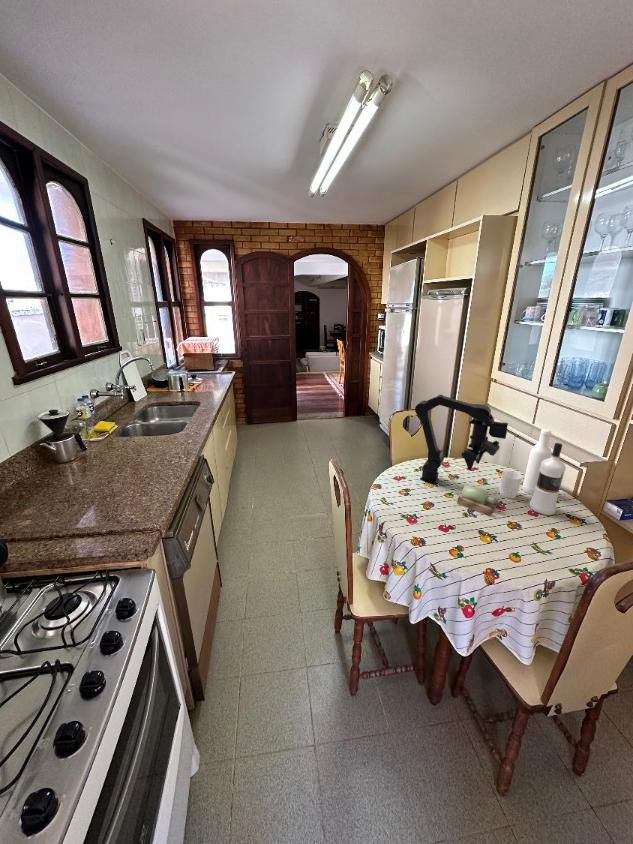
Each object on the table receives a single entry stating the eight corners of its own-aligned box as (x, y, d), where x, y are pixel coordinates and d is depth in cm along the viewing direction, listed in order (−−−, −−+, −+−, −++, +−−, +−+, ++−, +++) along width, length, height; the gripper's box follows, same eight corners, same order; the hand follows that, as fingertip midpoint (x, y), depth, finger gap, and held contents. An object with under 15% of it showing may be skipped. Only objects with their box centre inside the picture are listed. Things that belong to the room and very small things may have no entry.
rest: (457, 503, 149) (458, 497, 148) (466, 494, 156) (467, 488, 155) (488, 515, 140) (489, 509, 139) (497, 505, 148) (498, 499, 147)
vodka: (535, 501, 151) (551, 437, 141) (559, 511, 144) (577, 445, 134) (524, 507, 146) (540, 442, 136) (548, 518, 139) (566, 450, 129)
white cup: (516, 501, 151) (520, 481, 147) (496, 495, 155) (500, 475, 152) (519, 493, 157) (523, 474, 153) (500, 488, 161) (504, 469, 158)
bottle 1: (460, 498, 150) (463, 486, 148) (465, 495, 154) (468, 482, 153) (493, 511, 141) (496, 497, 140) (497, 507, 145) (500, 493, 144)
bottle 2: (545, 495, 155) (561, 433, 145) (527, 495, 155) (542, 433, 145) (535, 486, 163) (550, 426, 153) (518, 486, 163) (532, 426, 153)
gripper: (491, 445, 139) (484, 480, 144) (506, 433, 151) (499, 465, 157) (463, 438, 146) (458, 471, 151) (479, 427, 159) (474, 458, 164)
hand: (473, 466), depth 156 cm, fingers open, 9 cm apart
